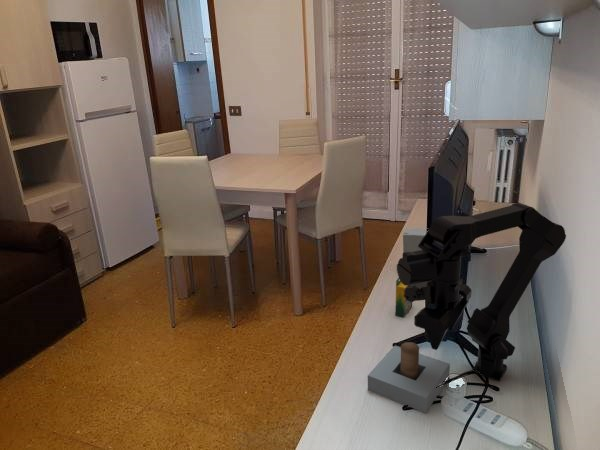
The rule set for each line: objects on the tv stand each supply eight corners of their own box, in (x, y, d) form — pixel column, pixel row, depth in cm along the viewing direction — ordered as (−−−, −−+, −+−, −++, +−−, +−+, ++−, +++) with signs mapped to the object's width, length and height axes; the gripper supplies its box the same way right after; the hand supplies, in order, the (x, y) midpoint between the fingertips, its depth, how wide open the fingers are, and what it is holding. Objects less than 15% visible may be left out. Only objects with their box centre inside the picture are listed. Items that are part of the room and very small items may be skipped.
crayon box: (404, 318, 136) (405, 282, 132) (394, 315, 137) (395, 280, 134) (413, 307, 142) (414, 272, 138) (403, 304, 143) (404, 270, 139)
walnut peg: (404, 376, 111) (405, 340, 108) (420, 382, 109) (421, 345, 106) (397, 385, 108) (397, 348, 105) (413, 391, 106) (414, 354, 103)
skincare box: (429, 269, 166) (430, 227, 161) (426, 278, 160) (428, 235, 155) (405, 267, 169) (406, 226, 164) (401, 275, 163) (402, 233, 158)
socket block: (394, 358, 118) (394, 345, 116) (449, 377, 110) (449, 363, 108) (367, 389, 107) (367, 375, 106) (425, 413, 99) (426, 397, 98)
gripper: (426, 253, 111) (424, 311, 116) (391, 284, 97) (390, 348, 102) (474, 263, 104) (469, 323, 109) (444, 297, 90) (440, 365, 95)
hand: (442, 338), depth 104 cm, fingers open, 9 cm apart
